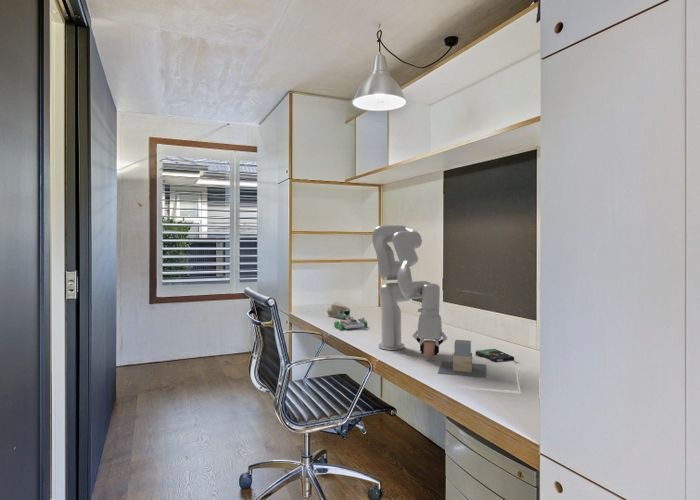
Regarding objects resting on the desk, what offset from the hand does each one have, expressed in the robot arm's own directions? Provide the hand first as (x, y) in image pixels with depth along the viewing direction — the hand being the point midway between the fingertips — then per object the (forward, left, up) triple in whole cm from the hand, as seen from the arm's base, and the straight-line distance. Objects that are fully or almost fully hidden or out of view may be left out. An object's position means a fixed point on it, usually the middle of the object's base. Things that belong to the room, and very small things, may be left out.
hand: (429, 353), depth 190 cm
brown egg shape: (0, 0, -1) cm, 1 cm away
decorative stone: (-89, -74, -4) cm, 115 cm away
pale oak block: (+10, +15, -3) cm, 18 cm away
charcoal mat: (+10, +15, -4) cm, 18 cm away
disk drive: (-13, +27, -4) cm, 30 cm away
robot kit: (-63, -59, -4) cm, 86 cm away
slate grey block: (+10, +15, +3) cm, 18 cm away
